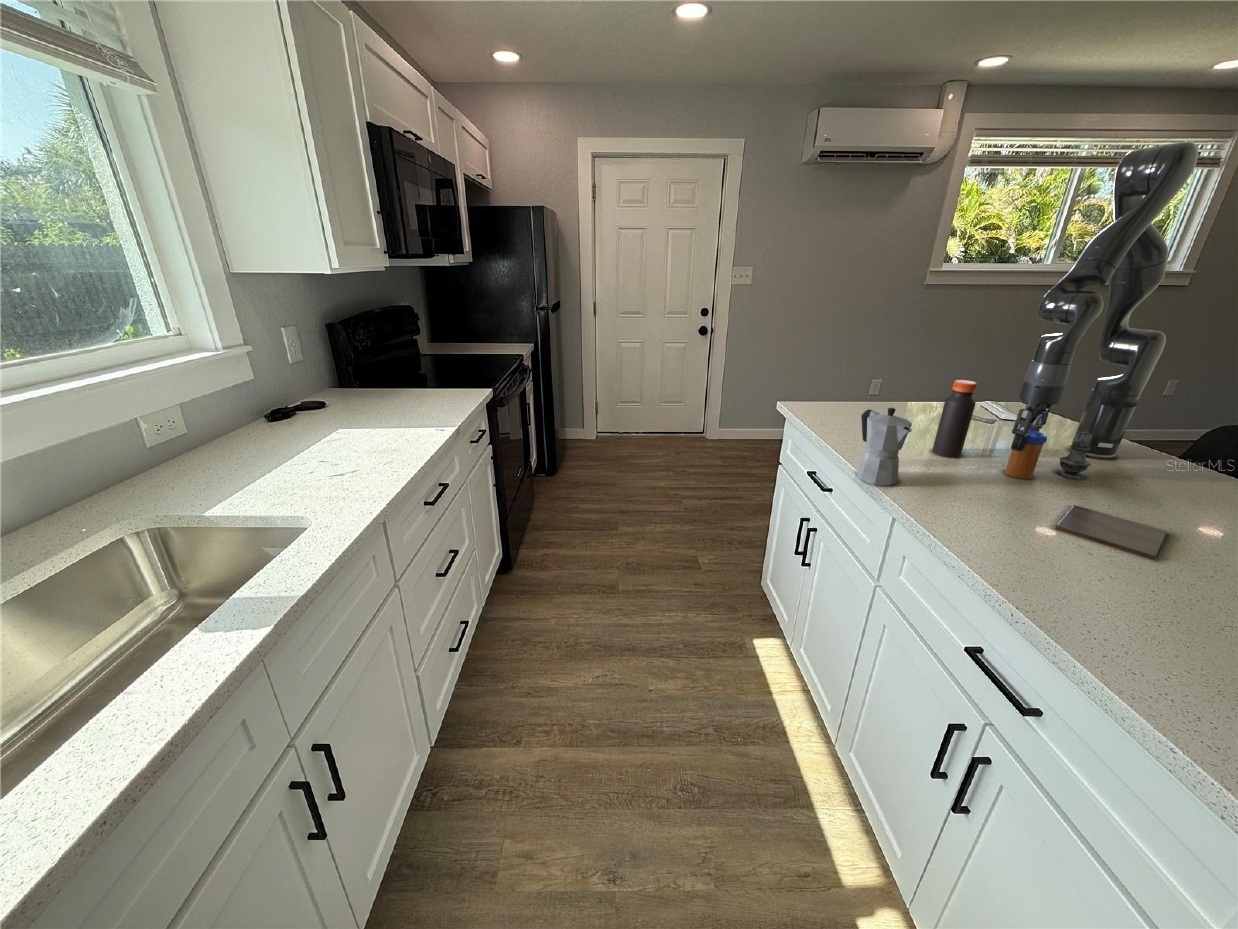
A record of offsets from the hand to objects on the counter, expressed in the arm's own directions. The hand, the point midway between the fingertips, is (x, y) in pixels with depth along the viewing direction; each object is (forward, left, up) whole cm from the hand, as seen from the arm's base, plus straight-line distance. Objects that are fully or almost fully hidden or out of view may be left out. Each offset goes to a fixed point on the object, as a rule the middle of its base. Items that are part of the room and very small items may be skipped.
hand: (1022, 446), depth 120 cm
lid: (0, +1, +3) cm, 3 cm away
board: (+19, +21, -7) cm, 29 cm away
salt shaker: (-10, +9, -7) cm, 15 cm away
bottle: (-2, -16, -7) cm, 18 cm away
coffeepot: (+29, -21, -7) cm, 37 cm away
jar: (0, +1, -7) cm, 7 cm away
